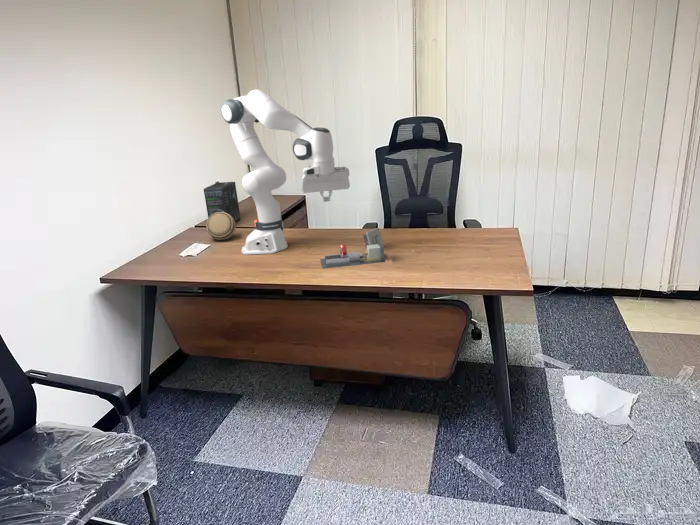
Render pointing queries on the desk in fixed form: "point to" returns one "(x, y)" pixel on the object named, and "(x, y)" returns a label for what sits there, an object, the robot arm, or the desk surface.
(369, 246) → the block
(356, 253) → the ram
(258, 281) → the desk surface
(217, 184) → the headset box
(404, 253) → the desk surface
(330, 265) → the press
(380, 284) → the desk surface
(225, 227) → the mechanical component
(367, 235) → the electrical switch
